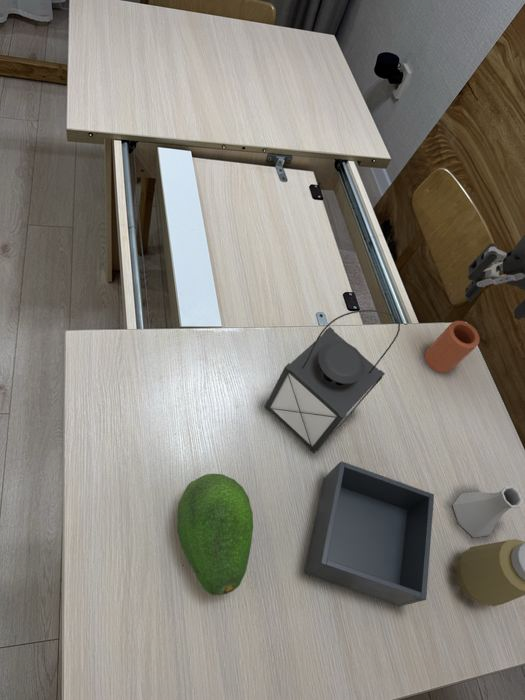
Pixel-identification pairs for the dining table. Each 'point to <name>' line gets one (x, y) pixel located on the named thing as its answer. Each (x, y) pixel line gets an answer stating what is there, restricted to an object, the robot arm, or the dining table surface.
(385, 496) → the basin
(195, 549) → the fruit
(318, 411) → the lantern
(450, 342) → the jar
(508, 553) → the squeeze bottle
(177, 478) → the dining table surface
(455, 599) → the dining table surface
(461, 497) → the flask
